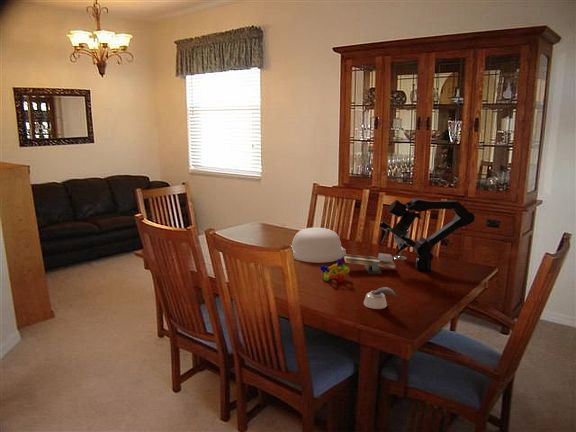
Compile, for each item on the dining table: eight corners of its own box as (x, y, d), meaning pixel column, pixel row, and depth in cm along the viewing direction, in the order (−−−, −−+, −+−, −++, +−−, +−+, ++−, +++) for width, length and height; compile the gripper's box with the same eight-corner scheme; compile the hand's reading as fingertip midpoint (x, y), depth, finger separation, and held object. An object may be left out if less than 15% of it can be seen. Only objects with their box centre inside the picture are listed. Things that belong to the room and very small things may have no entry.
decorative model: (323, 277, 200) (317, 259, 213) (327, 293, 204) (321, 274, 218) (352, 270, 200) (344, 252, 213) (355, 286, 204) (347, 267, 217)
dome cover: (347, 248, 261) (348, 224, 258) (344, 264, 232) (345, 237, 229) (292, 245, 266) (292, 222, 263) (282, 260, 237) (282, 234, 234)
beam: (391, 265, 226) (392, 259, 226) (394, 269, 219) (395, 263, 219) (343, 259, 226) (344, 253, 225) (345, 264, 219) (346, 258, 218)
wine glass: (391, 259, 240) (392, 231, 237) (393, 255, 248) (395, 228, 245) (406, 260, 238) (408, 232, 234) (408, 256, 245) (410, 229, 242)
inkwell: (377, 298, 188) (378, 275, 186) (407, 315, 172) (408, 290, 170) (358, 302, 184) (359, 278, 182) (387, 319, 168) (389, 294, 166)
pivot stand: (376, 266, 228) (377, 255, 227) (381, 273, 218) (381, 262, 216) (364, 266, 228) (365, 255, 227) (368, 273, 218) (369, 262, 216)
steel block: (389, 261, 224) (390, 254, 224) (391, 264, 220) (392, 257, 219) (377, 259, 224) (378, 253, 224) (379, 262, 220) (380, 255, 219)
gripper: (385, 210, 215) (368, 238, 217) (420, 231, 208) (401, 260, 210) (390, 212, 225) (373, 238, 227) (423, 232, 218) (405, 260, 220)
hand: (388, 249), depth 221 cm, fingers open, 9 cm apart
